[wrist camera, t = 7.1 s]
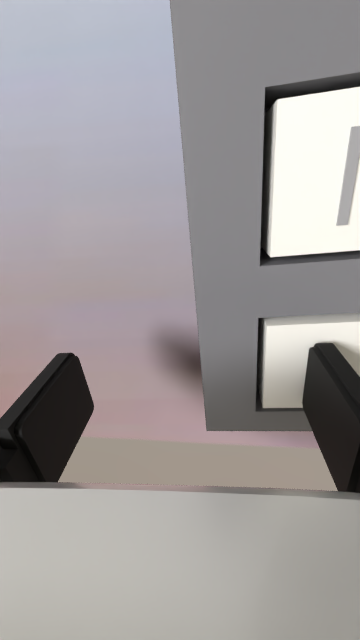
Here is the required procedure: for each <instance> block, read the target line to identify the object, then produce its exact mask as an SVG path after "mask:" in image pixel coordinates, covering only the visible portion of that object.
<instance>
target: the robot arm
mask: <svg viewBox="0 0 360 640" xmlns="http://www.w3.org/2000/svg"><path fill="white" fill-rule="evenodd" d="M302 405H303V410H304V412H305V415H306V417H307V419H308V422H309V424H310V426H311V429H312V431H313V433H314V436H315V438H316V440H317V443H318V445H319V447H320V450H321V452H322V454H323V457H324V459H325V461H326V464H327V466H328V468H329V471H330V473H331V476H332V478H333V480H334V483H335V485H336V487H337V490H338V491H322V490H303V489H302V490H301V489H280V488H250V487H218V486H187V485H186V486H185V485H184V486H183V485H148V484H110V483H63V482H62V483H61V482H59V483H58V480H59V478H60V476H61V474H62V472H63V470H64V468H65V466H66V464H67V462H68V460H69V458H70V456H71V454H72V453H73V450H74V449H75V447H76V444H77V443H78V440H79V439H80V437H81V435H82V433H83V431H84V429H85V427H86V425H87V423H88V421H89V419H90V417H91V415H92V413H93V409H94V404H93V400H92V397H91V394H90V391H89V388H88V385H87V382H86V379H85V376H84V373H83V370H82V367H81V364H80V361H79V358H78V357H77V356H75V355H74V354H73V353H59V354H57V355H56V356H55V357H54V358H53V360H52V361H51V362H50V363H49V364H48V365H47V366H46V367H45V369H44V370H43V371H42V372H41V373H40V374H39V375H38V376H37V378H36V379H35V380H34V381H33V382H32V383H31V384H30V386H29V387H28V388H27V389H26V390H25V391H24V392H23V393H22V395H21V396H20V397H19V398H18V399H17V400H16V401H15V402H14V404H13V405H12V406H11V407H10V408H9V409H8V410H7V412H6V413H5V414H4V415H3V416H2V417H1V418H0V640H360V377H359V375H358V374H357V373H356V372H355V370H354V369H353V368H352V366H351V365H350V364H349V363H348V361H347V360H346V359H345V358H344V356H343V355H342V354H341V353H340V351H339V350H338V349H337V348H336V346H335V345H334V344H333V343H316V344H315V345H314V347H310V348H309V353H308V361H307V368H306V376H305V384H304V391H303V399H302Z"/></svg>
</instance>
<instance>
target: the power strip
mask: <svg viewBox="0 0 360 640" xmlns="http://www.w3.org/2000/svg"><path fill="white" fill-rule="evenodd" d="M170 9H171V21H172V32H173V44H174V56H175V67H176V79H177V91H178V102H179V114H180V126H181V138H182V149H183V161H184V173H185V184H186V196H187V208H188V219H189V231H190V243H191V254H192V266H193V278H194V289H195V301H196V313H197V324H198V336H199V348H200V359H201V371H202V383H203V394H204V406H205V418H206V429H207V431H312V429H311V426H310V424H309V422H308V419H307V417H306V415H305V412H304V410H303V408H263V406H262V402H261V398H260V394H259V389H258V385H257V381H256V376H257V342H258V318H266V317H286V316H305V315H325V314H345V313H360V250H356V251H343V252H330V253H318V254H305V255H292V256H280V257H270V256H269V255H268V254H267V253H266V252H265V250H264V249H263V248H262V247H261V245H260V241H261V207H262V173H263V139H264V115H265V114H266V112H267V111H268V110H269V109H270V108H271V107H272V105H273V104H274V103H275V102H276V101H277V99H283V98H289V97H296V96H302V95H309V94H316V93H322V92H329V91H335V90H342V89H348V88H355V87H360V0H170Z"/></svg>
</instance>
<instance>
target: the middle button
mask: <svg viewBox="0 0 360 640" xmlns="http://www.w3.org/2000/svg"><path fill="white" fill-rule="evenodd" d="M260 245H261V247H262V248H263V249H264V250H265V252H266V253H267V254H268V255H269V256H270V257H280V256H292V255H305V254H318V253H330V252H343V251H356V250H360V87H355V88H348V89H342V90H335V91H329V92H322V93H316V94H309V95H302V96H296V97H289V98H283V99H277V101H276V102H275V103H274V104H273V105H272V107H271V108H270V109H269V110H268V111H267V112H266V114H265V115H264V139H263V173H262V207H261V241H260Z"/></svg>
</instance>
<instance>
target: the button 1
mask: <svg viewBox="0 0 360 640" xmlns="http://www.w3.org/2000/svg"><path fill="white" fill-rule="evenodd" d="M316 343H333V344H334V345H335V346H336V348H337V349H338V350H339V351H340V353H341V354H342V355H343V356H344V358H345V359H346V360H347V361H348V363H349V364H350V365H351V366H352V368H353V369H354V370H355V372H356V373H357V374H358V375H359V377H360V313H345V314H325V315H305V316H286V317H266V318H258V342H257V376H256V381H257V385H258V389H259V394H260V398H261V402H262V406H263V408H303V405H302V399H303V391H304V384H305V376H306V368H307V361H308V353H309V348H310V347H314V345H315V344H316Z"/></svg>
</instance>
